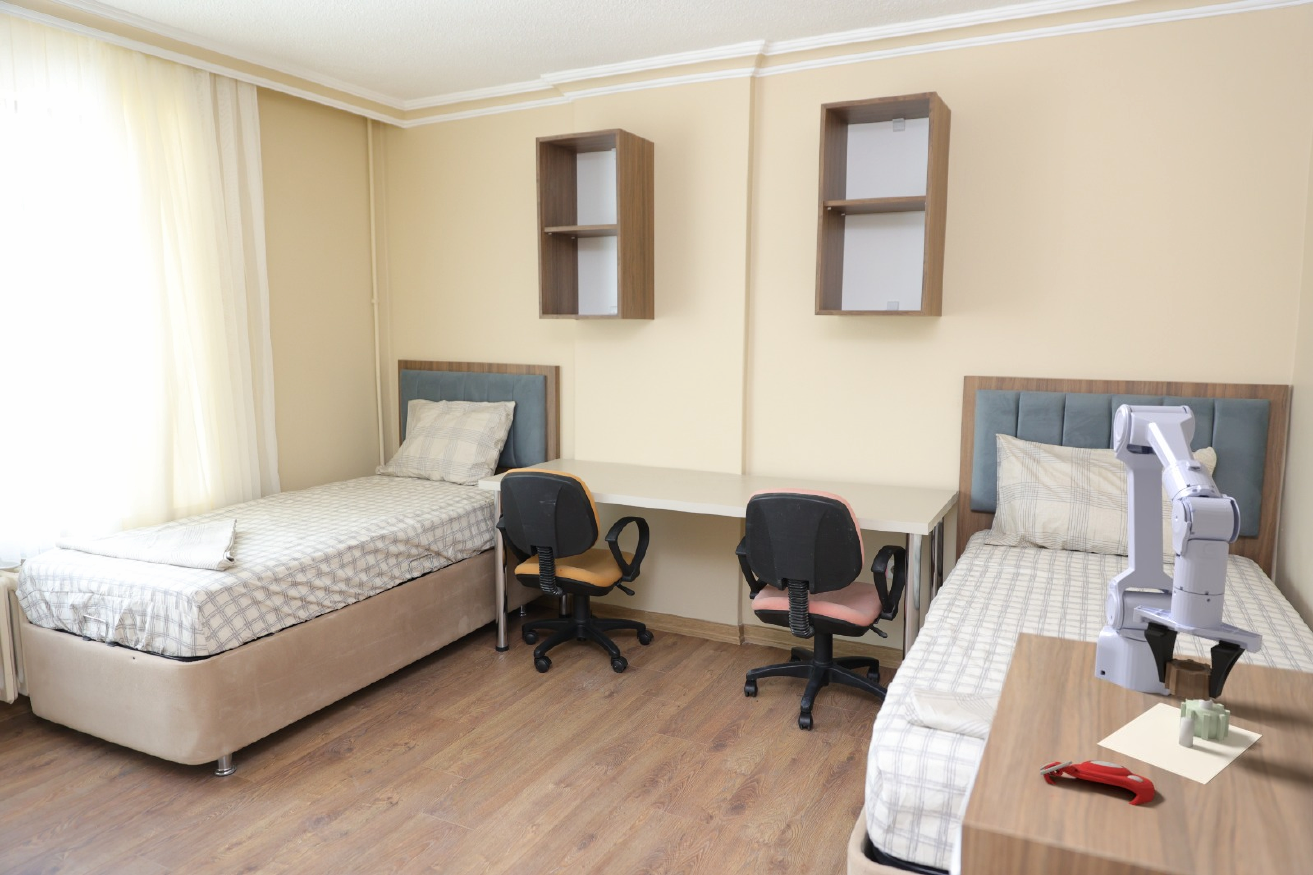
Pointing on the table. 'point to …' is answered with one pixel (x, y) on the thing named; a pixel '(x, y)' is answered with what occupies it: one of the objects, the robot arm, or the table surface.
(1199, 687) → the walnut gear
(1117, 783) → the red peeler
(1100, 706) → the table surface
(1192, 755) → the gear board
